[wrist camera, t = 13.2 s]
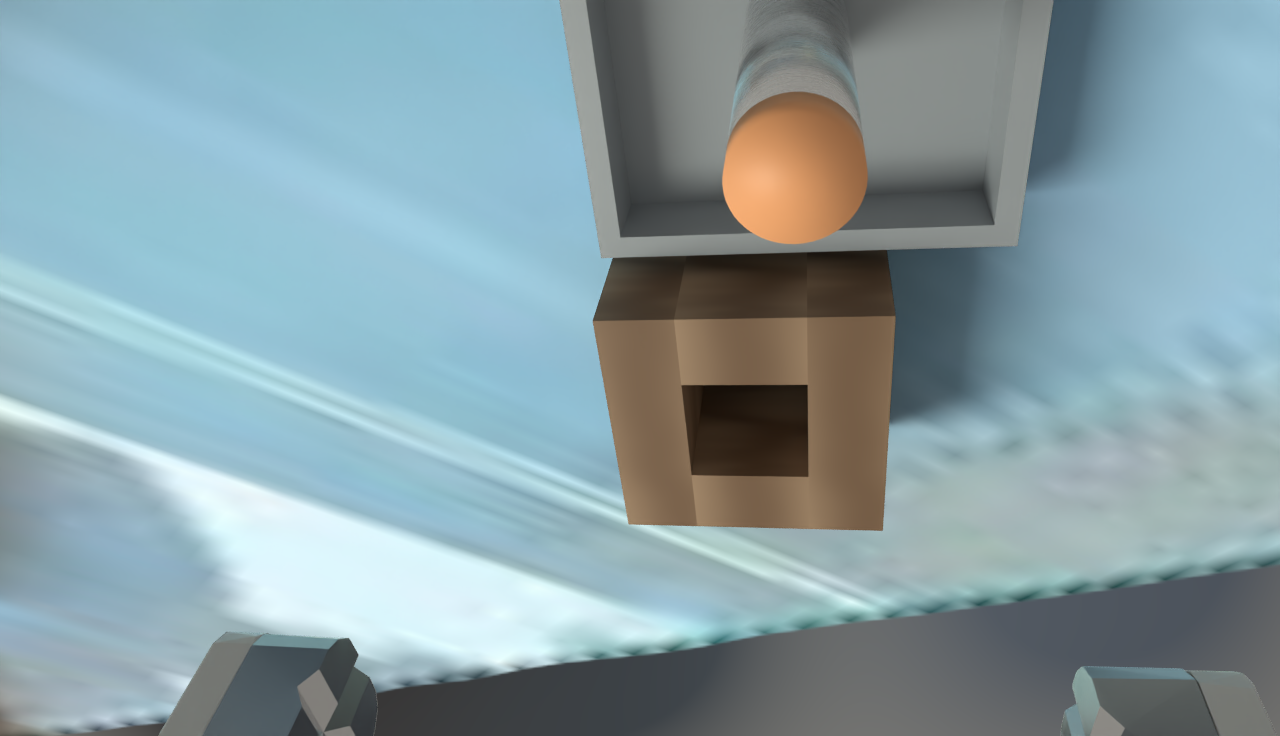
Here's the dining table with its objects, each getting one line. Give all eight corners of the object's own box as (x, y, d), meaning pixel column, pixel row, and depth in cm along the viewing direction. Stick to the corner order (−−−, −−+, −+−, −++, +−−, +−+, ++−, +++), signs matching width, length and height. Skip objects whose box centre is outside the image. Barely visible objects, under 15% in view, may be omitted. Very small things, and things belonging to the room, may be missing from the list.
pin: (747, 74, 30) (726, 246, 22) (742, -27, 29) (717, 117, 20) (846, 67, 30) (865, 241, 21) (848, -36, 28) (869, 108, 19)
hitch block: (648, 427, 42) (628, 524, 37) (620, 234, 36) (592, 321, 31) (873, 428, 40) (882, 530, 35) (883, 225, 34) (895, 316, 30)
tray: (616, 211, 35) (601, 257, 33) (555, -214, 27) (526, -199, 24) (999, 196, 33) (1017, 245, 30) (1061, -278, 25) (1093, -270, 22)
